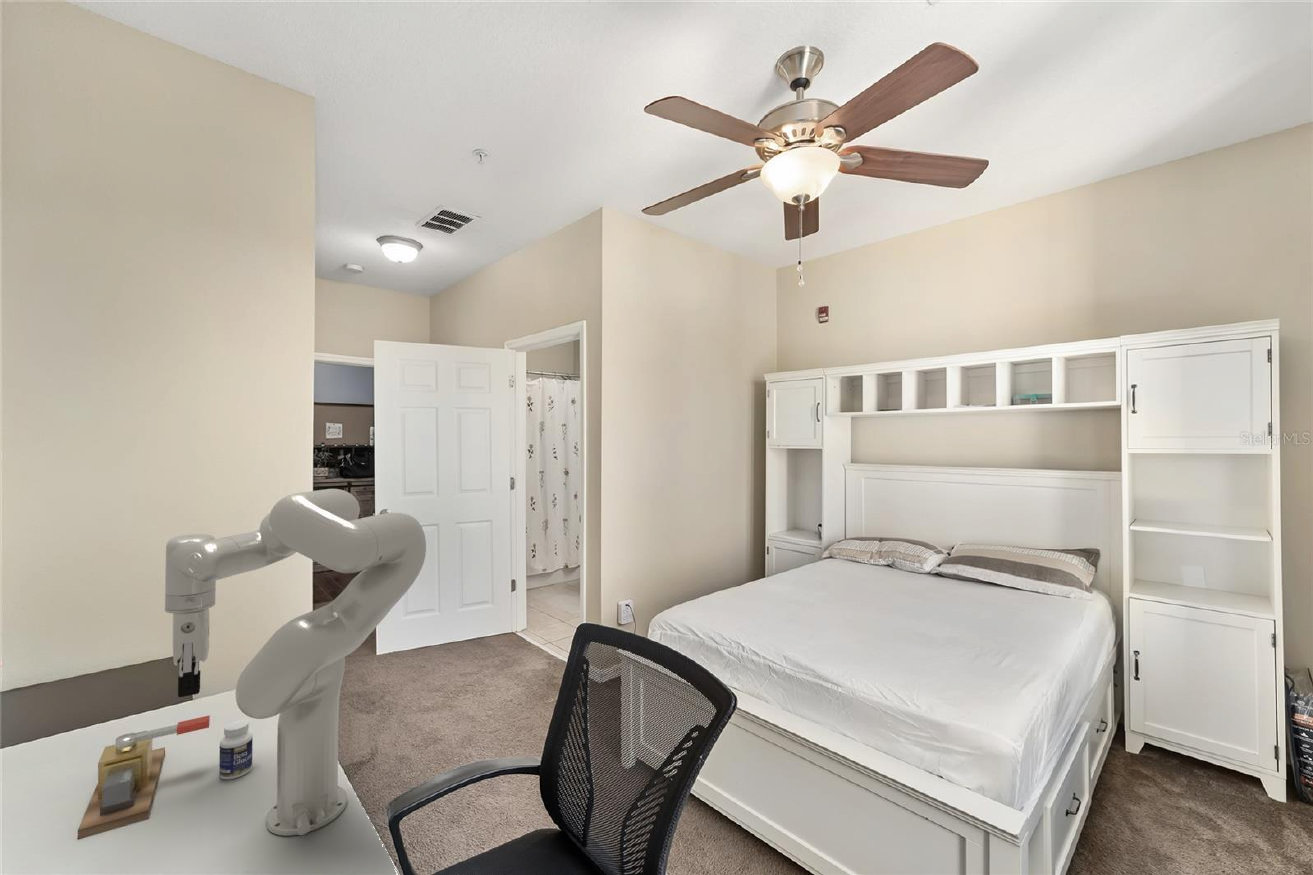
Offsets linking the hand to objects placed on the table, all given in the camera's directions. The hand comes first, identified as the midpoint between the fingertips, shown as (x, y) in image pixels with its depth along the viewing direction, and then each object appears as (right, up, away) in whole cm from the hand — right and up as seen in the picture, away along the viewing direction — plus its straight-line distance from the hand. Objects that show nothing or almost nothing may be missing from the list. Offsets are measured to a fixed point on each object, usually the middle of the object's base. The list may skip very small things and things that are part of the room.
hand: (189, 693), depth 109 cm
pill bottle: (+5, -19, +6) cm, 20 cm away
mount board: (-11, -19, -1) cm, 22 cm away
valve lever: (-7, -10, +2) cm, 12 cm away
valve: (-11, -17, -1) cm, 21 cm away
